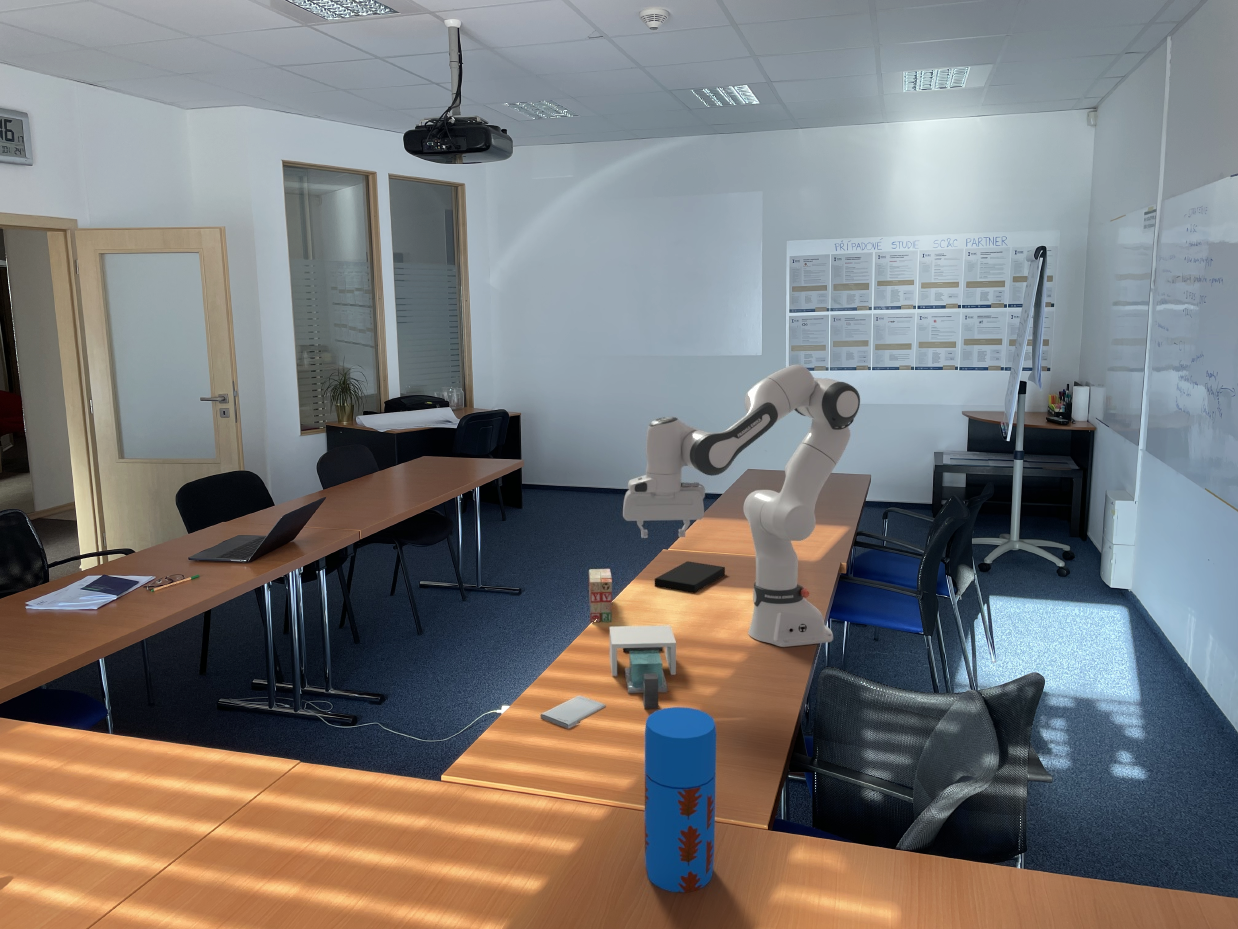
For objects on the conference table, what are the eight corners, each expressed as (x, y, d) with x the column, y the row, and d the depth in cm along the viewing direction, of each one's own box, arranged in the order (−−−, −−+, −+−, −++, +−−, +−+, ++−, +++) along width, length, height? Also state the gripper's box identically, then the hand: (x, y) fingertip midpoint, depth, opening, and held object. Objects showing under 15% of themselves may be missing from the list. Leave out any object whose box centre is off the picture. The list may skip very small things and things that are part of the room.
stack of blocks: (589, 599, 271) (588, 560, 269) (609, 598, 271) (609, 560, 269) (590, 623, 250) (589, 581, 248) (612, 622, 250) (612, 580, 248)
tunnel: (670, 657, 225) (670, 625, 223) (675, 676, 213) (676, 642, 212) (609, 658, 224) (609, 626, 222) (612, 678, 212) (611, 644, 211)
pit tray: (660, 645, 233) (660, 639, 232) (662, 652, 228) (662, 646, 227) (622, 646, 232) (622, 640, 232) (623, 653, 227) (623, 647, 227)
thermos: (641, 852, 144) (641, 707, 139) (706, 848, 144) (708, 705, 140) (649, 895, 133) (649, 740, 129) (719, 891, 134) (722, 737, 130)
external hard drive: (654, 587, 283) (654, 578, 283) (686, 569, 303) (686, 561, 302) (694, 594, 276) (694, 585, 276) (724, 575, 296) (725, 567, 295)
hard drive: (568, 724, 186) (605, 703, 196) (540, 713, 191) (578, 694, 201) (568, 731, 186) (605, 710, 196) (540, 720, 191) (578, 700, 201)
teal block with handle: (661, 671, 215) (661, 644, 213) (671, 708, 194) (671, 678, 193) (624, 672, 214) (624, 644, 213) (630, 709, 194) (630, 679, 193)
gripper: (703, 479, 223) (702, 533, 225) (622, 481, 222) (622, 534, 224) (707, 484, 216) (706, 539, 219) (623, 485, 215) (624, 541, 218)
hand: (663, 537), depth 221 cm, fingers open, 8 cm apart
